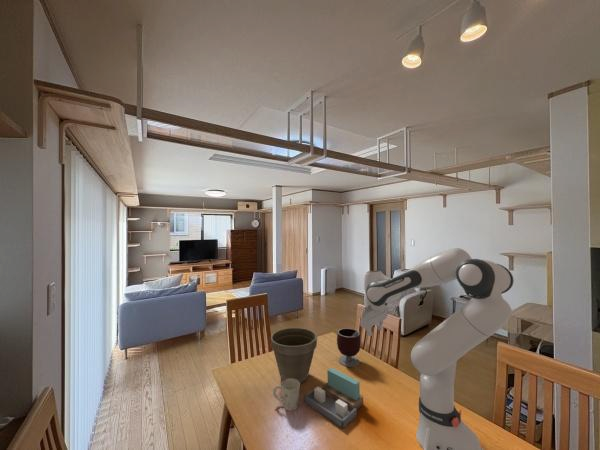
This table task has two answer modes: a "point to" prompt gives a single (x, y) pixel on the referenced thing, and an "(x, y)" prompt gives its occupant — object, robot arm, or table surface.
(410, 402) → the table surface
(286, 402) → the mug
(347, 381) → the teal rectangular block
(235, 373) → the table surface
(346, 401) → the board
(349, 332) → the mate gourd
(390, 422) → the table surface
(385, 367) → the table surface
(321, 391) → the tile
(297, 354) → the plant pot
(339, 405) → the tile
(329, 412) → the tray
